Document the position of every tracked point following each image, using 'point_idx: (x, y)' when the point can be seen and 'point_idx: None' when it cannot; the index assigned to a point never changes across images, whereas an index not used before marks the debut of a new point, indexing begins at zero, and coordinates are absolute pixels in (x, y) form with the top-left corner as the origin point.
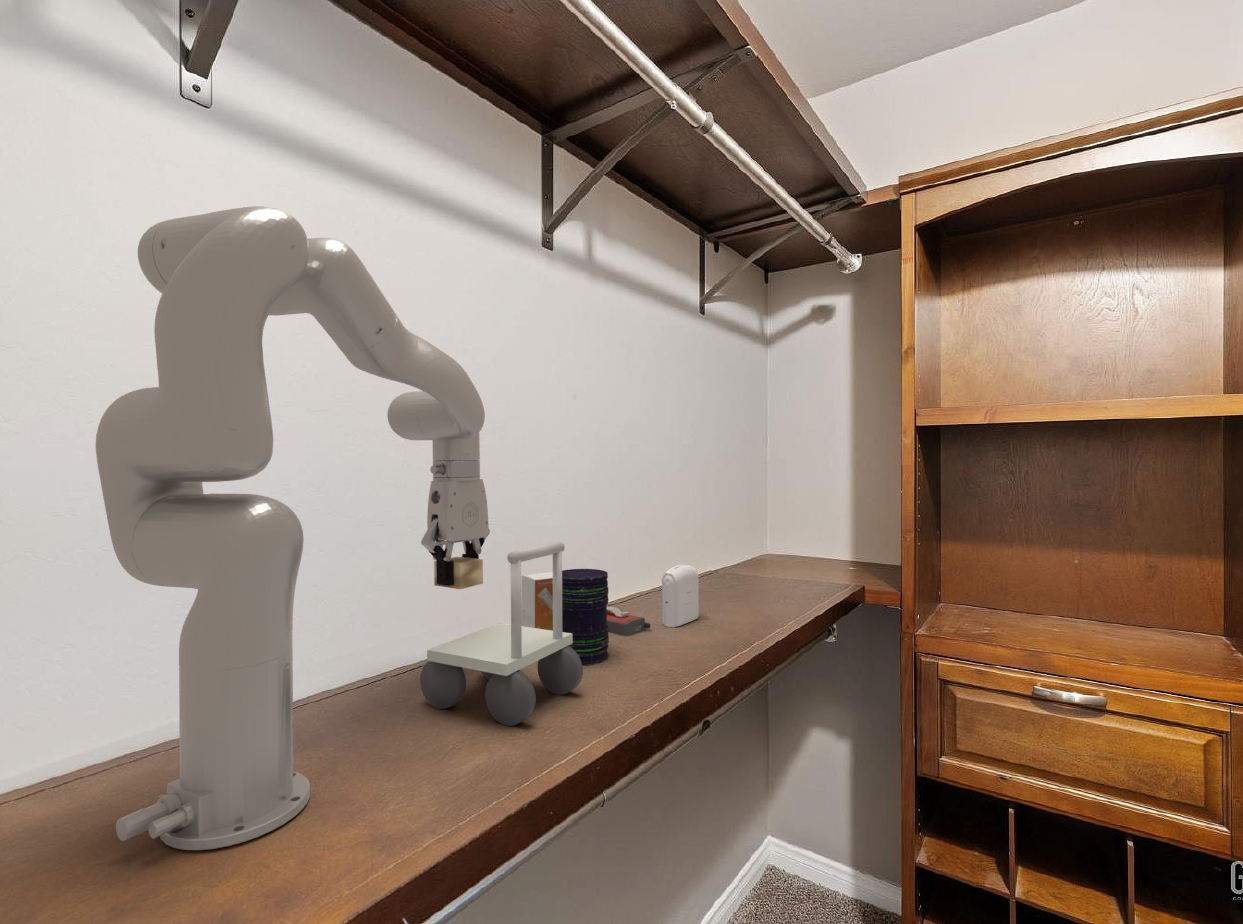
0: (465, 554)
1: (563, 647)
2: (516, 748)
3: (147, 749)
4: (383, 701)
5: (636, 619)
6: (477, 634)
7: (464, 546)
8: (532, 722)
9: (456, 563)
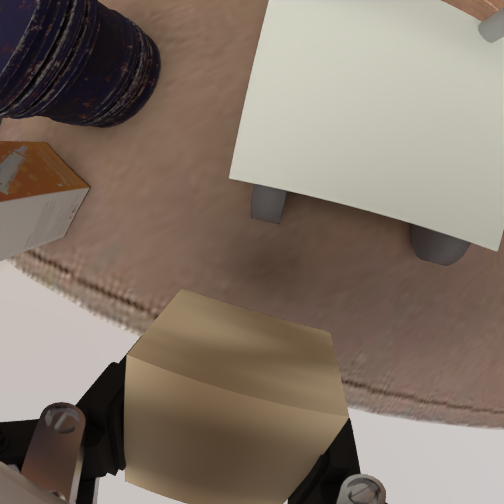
0: (112, 463)
1: None
2: None
3: (501, 424)
4: (413, 316)
5: None
6: (370, 187)
7: (95, 498)
8: None
9: (319, 444)
